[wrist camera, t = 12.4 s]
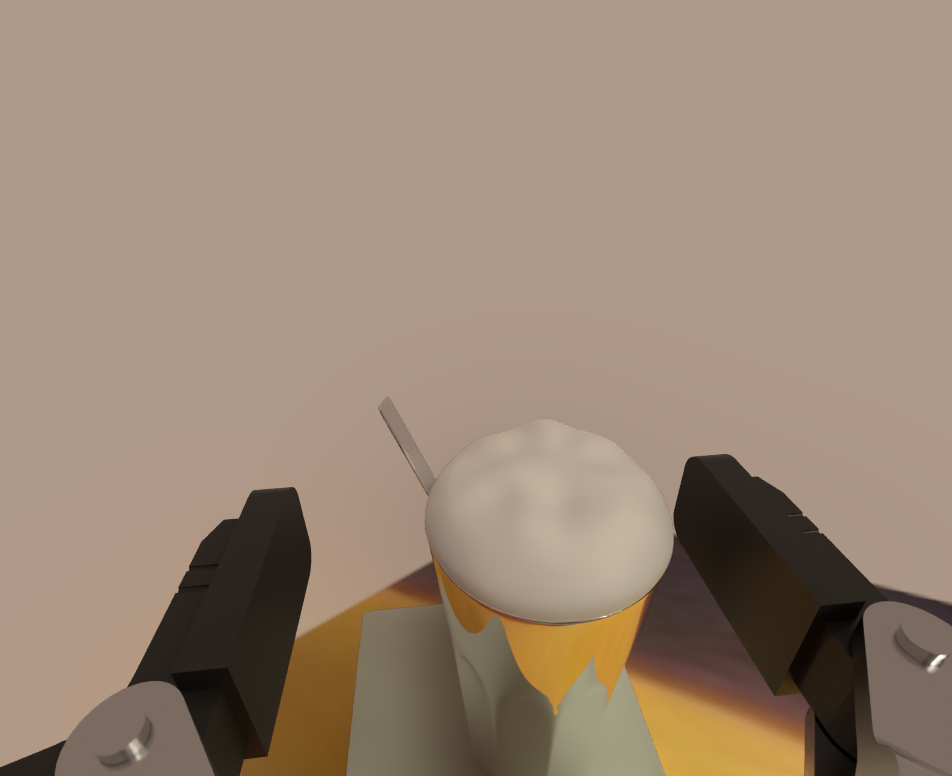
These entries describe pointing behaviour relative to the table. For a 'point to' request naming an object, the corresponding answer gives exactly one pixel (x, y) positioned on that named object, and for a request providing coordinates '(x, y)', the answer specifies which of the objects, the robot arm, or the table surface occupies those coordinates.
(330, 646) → the table surface
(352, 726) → the tower base
